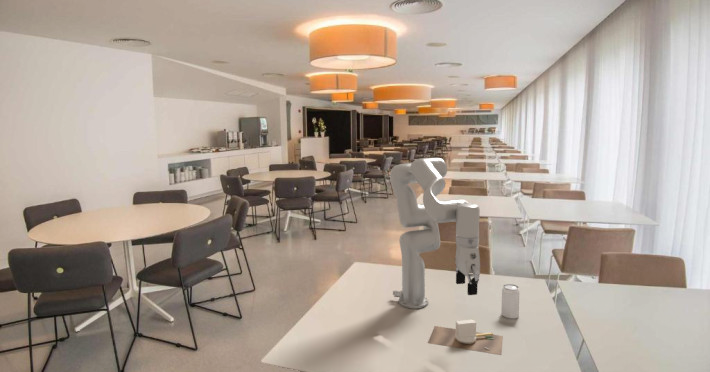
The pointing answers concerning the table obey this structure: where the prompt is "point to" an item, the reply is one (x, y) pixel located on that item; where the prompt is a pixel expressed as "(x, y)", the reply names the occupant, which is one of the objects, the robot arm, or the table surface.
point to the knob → (467, 331)
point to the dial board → (448, 339)
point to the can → (510, 301)
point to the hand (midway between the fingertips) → (466, 288)
